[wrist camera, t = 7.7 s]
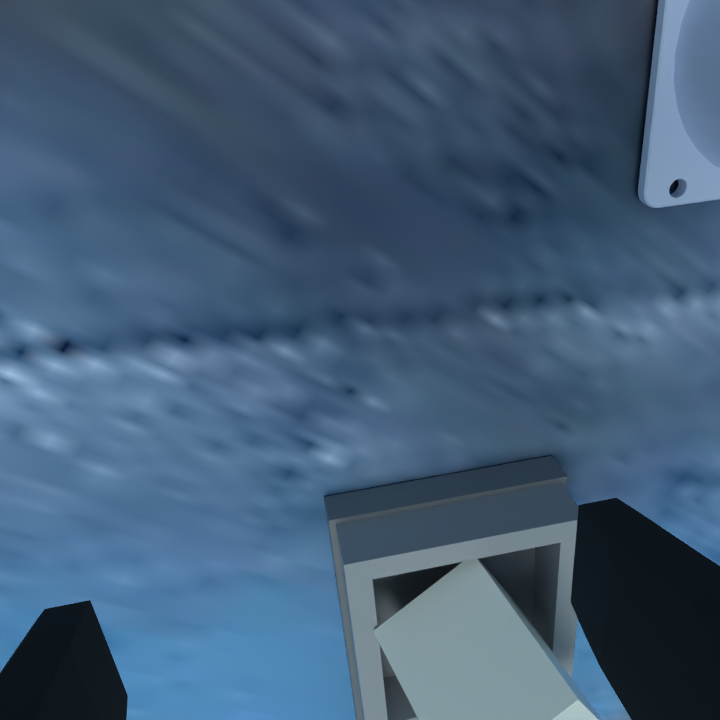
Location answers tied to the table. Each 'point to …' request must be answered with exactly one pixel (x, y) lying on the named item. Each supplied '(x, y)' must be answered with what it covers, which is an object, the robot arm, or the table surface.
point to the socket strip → (450, 559)
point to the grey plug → (477, 655)
